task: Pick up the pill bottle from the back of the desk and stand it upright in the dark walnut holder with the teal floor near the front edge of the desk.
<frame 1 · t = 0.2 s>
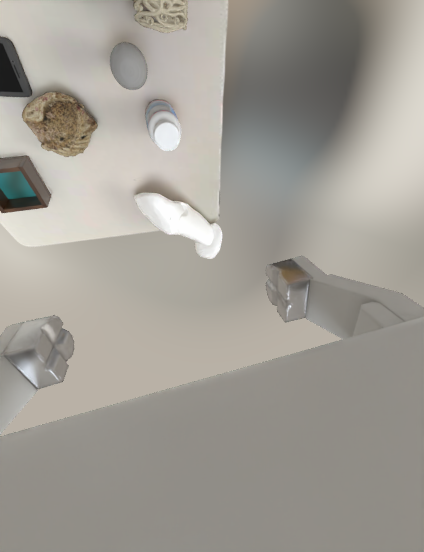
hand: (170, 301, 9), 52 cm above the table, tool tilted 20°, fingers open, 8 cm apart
light bulb: (127, 58, 41), on the table
pill bottle: (160, 115, 48), on the table
white lattice sculpture: (157, 8, 37), on the table, touching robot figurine
seashell: (66, 121, 45), on the table
fish: (167, 243, 63), point 9 cm above the table
brown wooden box: (17, 179, 51), on the table
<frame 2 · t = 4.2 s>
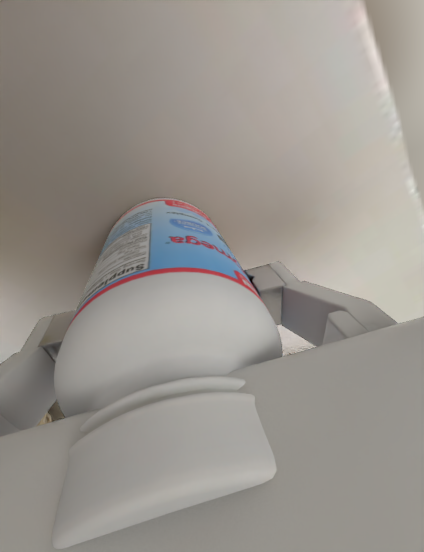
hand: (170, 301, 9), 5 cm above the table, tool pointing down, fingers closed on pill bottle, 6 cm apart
pill bottle: (165, 248, 13), on the table, touching gripper
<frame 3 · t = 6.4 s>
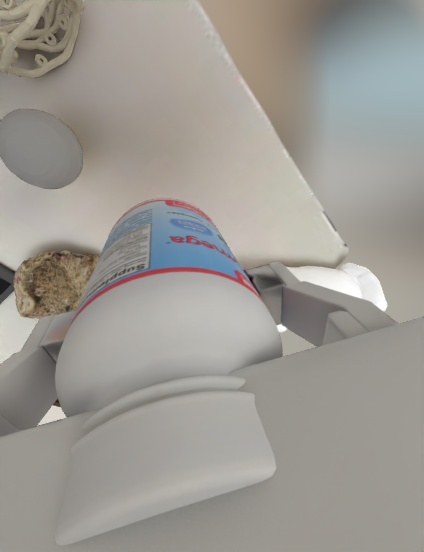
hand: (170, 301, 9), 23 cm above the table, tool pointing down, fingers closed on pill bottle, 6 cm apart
light bulb: (71, 146, 25), on the table
pill bottle: (165, 248, 13), point 18 cm above the table, touching gripper
white lattice sculpture: (48, 35, 20), on the table, touching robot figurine
seashell: (72, 277, 32), on the table
fish: (288, 347, 34), point 9 cm above the table
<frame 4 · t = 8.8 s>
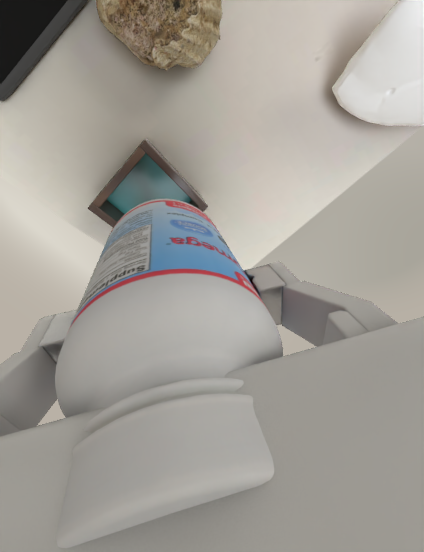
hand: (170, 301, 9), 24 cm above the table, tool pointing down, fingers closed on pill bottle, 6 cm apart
pill bottle: (165, 249, 13), point 19 cm above the table, touching gripper
seashell: (167, 4, 21), on the table
brown wooden box: (151, 196, 30), on the table
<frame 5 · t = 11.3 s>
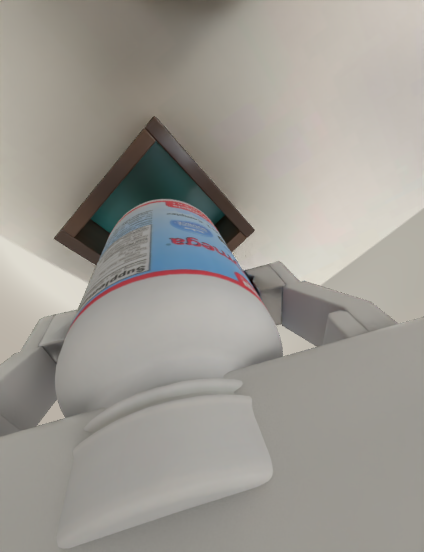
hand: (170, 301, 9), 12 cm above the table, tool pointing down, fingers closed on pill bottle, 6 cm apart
pill bottle: (165, 249, 13), point 7 cm above the table, touching gripper
brown wooden box: (160, 212, 19), on the table
when the fingers open (6 cm above the table, at t = 13.3 s): pill bottle stays where it is, resting on brown wooden box.
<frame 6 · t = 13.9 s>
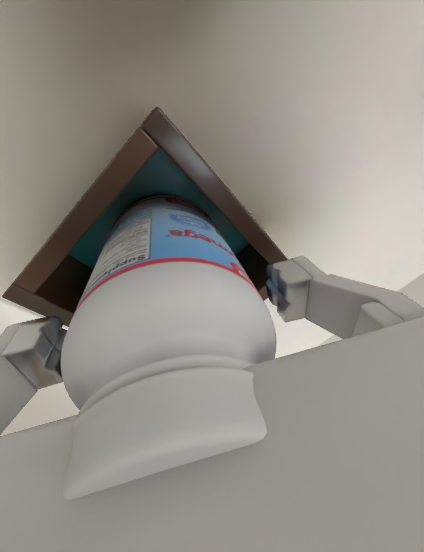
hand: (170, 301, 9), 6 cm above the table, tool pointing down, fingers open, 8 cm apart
pill bottle: (165, 244, 14), point 1 cm above the table, touching brown wooden box
brown wooden box: (164, 240, 14), on the table
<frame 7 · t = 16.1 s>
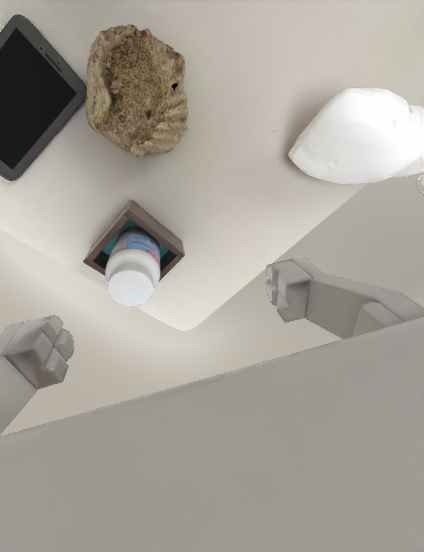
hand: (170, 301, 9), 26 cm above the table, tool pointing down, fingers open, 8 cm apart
cell phone: (18, 108, 25), on the table
pill bottle: (138, 245, 34), point 1 cm above the table, touching brown wooden box
seashell: (144, 101, 27), on the table
fish: (398, 194, 28), point 9 cm above the table
brown wooden box: (138, 244, 35), on the table
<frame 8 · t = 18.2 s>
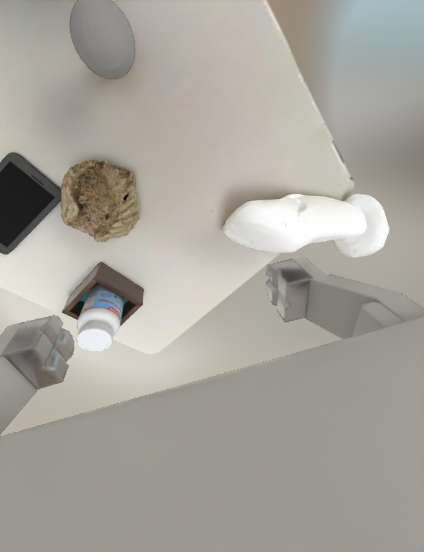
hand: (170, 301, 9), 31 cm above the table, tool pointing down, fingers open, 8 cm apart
cell phone: (11, 206, 33), on the table
light bulb: (114, 59, 28), on the table
pill bottle: (107, 294, 43), point 1 cm above the table, touching brown wooden box
seashell: (107, 197, 35), on the table
fish: (300, 264, 38), point 9 cm above the table
brown wooden box: (108, 291, 44), on the table
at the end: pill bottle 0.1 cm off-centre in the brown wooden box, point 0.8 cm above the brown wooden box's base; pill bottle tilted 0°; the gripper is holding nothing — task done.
